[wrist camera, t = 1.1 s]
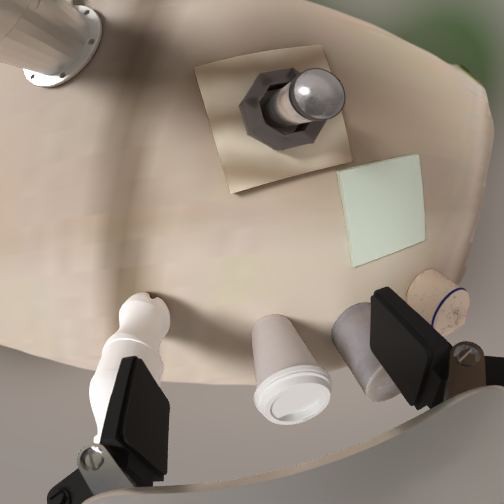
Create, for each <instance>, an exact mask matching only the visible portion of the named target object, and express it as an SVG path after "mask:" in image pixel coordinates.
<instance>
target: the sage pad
mask: <svg viewBox="0 0 504 504" xmlns="http://www.w3.org/2000/svg"><path fill="white" fill-rule="evenodd" d="M336 173H337V178H338V183H339V189H340V194H341V200H342V205H343V211H344V217H345V224H346V230H347V237H348V244H349V252H350V260H351V265H352V266H353V267H356V266H359V265H362V264H365V263H367V262H370V261H373V260H375V259H378V258H381V257H383V256H386V255H389V254H391V253H394V252H396V251H399V250H402V249H404V248H407V247H409V246H412V245H414V244H417V243H419V242H422V241H424V240H425V214H424V198H423V186H422V176H421V168H420V160H419V154H410V155H405V156H400V157H396V158H391V159H386V160H382V161H377V162H372V163H368V164H364V165H359V166H355V167H351V168H347V169H342V170H338V171H336Z"/></svg>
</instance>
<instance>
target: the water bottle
mask: <svg viewBox="0 0 504 504" xmlns="http://www.w3.org/2000/svg"><path fill="white" fill-rule="evenodd" d="M119 322H120V329H119V330H118V331H117V332H116V333H115V334H114V335H112V336H111V337H110V338H109V339H108V340H107V342H106V344H105V346H104V348H103V352H102V357H101V359H100V362H99V364H98V367H97V370H96V372H95V375H94V376H93V377H92V380H91V383H90V389H89V390H90V391H89V396H90V402H91V406H92V410H93V413H94V416H95V419H96V423H97V428H98V435H96V436H95V437H94V443H98V444H99V443H100V438H101V434H102V429H103V425H104V420H105V416H106V412H107V408H108V404H109V400H110V396H111V394H112V391H113V387H114V383H115V380H116V376H117V373H118V369H119V366H120V363H121V360H122V358H124V357H130V356H137V357H138V359H139V358H141V359H142V360H143V361H144V363H145V365H146V366H147V368H148V370H149V371H150V373H151V374H152V376H153V378H154V379H155V381H156V382H157V384H158V386H159V387H160V383H161V375H162V373H163V370H164V365H163V362H162V358H161V354H160V342H161V340H162V339H163V338H164V337H165V336H166V334H167V333H168V331H169V328H170V313H169V310H168V308H167V306H166V304H165V303H164V301H163V300H162V299H160V298H159V297H156V298H155V299H151V298H150V296H149V294H148V293H145V292H141V293H137V294H134V295H132V296H131V297H130V298H128V299H127V301H126V302H125V303H124V304H123V305H122V307H121V309H120V312H119Z"/></svg>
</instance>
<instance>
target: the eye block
mask: <svg viewBox="0 0 504 504" xmlns="http://www.w3.org/2000/svg"><path fill="white" fill-rule="evenodd" d="M311 68H321V69H325V70H327V71H329V72H331V71H330V68H329V65H328V61H327V58H326V55H325V52H324V49H323V46H322V44H320V45H308V46H298V47H289V48H282V49H275V50H268V51H262V52H256V53H251V54H246V55H241V56H236V57H232V58H227V59H223V60H219V61H215V62H211V63H207V64H203V65H200V66H196V67H194V71H195V75H196V78H197V82H198V85H199V88H200V92H201V95H202V99H203V102H204V105H205V109H206V112H207V116H208V119H209V122H210V126H211V129H212V133H213V136H214V139H215V143H216V146H217V150H218V153H219V156H220V160H221V163H222V166H223V170H224V173H225V177H226V180H227V183H228V187H229V190H230V193H231V194H232V193H236V192H239V191H242V190H246V189H249V188H252V187H256V186H259V185H263V184H266V183H270V182H274V181H277V180H281V179H285V178H288V177H292V176H296V175H300V174H303V173H307V172H311V171H315V170H319V169H323V168H327V167H331V166H336V165H340V164H344V163H349V162H353V160H352V155H351V150H350V145H349V140H348V136H347V131H346V127H345V123H344V119H343V115H342V111H341V112H340V113H339V114H338V115H337V116H335V117H333V118H331V119H328V120H322V121H311V122H306V123H301V124H297V125H292V126H288V127H284V128H275V127H272V126H270V125H269V124H268V123H267V122H266V121H265V120H264V118H263V115H262V107H263V104H264V103H265V101H266V100H267V99H269V98H270V97H271V96H272V95H274V94H275V93H276V92H278V91H279V90H280V89H282V88H283V87H284V86H286V85H287V84H288V83H290V82H291V81H292V80H293V79H294V78H295V77H296V76H297V75H299V74H300V73H302V72H303V71H305V70H307V69H311Z"/></svg>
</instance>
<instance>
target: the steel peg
mask: <svg viewBox="0 0 504 504" xmlns="http://www.w3.org/2000/svg"><path fill="white" fill-rule="evenodd" d="M344 104H345V91H344V88H343V85H342V84H341V82H340V80H339V79H338V78H337V77H336V76H335V75H334V74H332V73H331V72H329V71H327V70H325V69H321V68H311V69H307V70H305V71H303V72H302V73H300V74H299V75H297V76H296V77H295V78H294V79H293V80H292V81H291V82H290V83H288V84H287V85H286V86H284V87H283V88H282V89H280V90H279V91H278V92H276V93H275V94H274V95H272V96H271V97H270V98H269V99H267V100H266V101H265V103H264V104H263V107H262V115H263V118H264V120H265V121H266V122H267V123H268V124H269V125H270V126H272V127H275V128H284V127H288V126H292V125H297V124H301V123H306V122H311V121H322V120H328V119H331V118H333V117H335V116H337V115H338V114H339V113H340V112H341V110H342V109H343V107H344Z"/></svg>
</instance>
